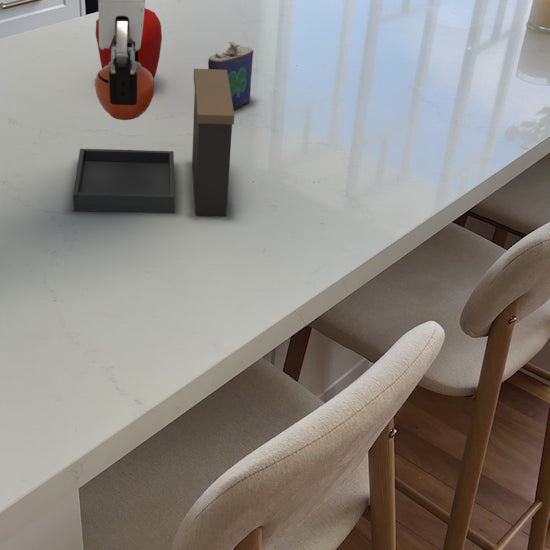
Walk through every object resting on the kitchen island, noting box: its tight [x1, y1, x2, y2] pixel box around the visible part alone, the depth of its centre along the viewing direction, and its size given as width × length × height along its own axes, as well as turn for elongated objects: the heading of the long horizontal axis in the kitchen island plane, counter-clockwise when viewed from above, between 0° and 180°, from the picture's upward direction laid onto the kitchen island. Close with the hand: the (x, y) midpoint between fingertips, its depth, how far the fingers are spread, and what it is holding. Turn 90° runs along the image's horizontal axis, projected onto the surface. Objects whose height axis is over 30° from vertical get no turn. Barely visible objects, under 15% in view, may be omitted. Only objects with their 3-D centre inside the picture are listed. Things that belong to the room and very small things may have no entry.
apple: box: [95, 7, 163, 80], centre depth 142 cm, size 11×10×14 cm
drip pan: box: [72, 148, 176, 214], centre depth 118 cm, size 13×13×2 cm
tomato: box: [94, 54, 156, 121], centre depth 110 cm, size 7×7×8 cm
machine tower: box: [191, 68, 235, 217], centre depth 116 cm, size 4×14×14 cm, turn 6°
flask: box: [207, 41, 254, 111], centre depth 139 cm, size 9×3×11 cm, turn 139°
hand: (124, 89), depth 110 cm, fingers closed on tomato, 7 cm apart
